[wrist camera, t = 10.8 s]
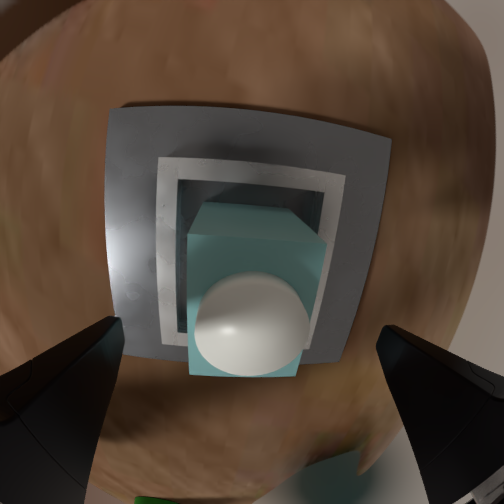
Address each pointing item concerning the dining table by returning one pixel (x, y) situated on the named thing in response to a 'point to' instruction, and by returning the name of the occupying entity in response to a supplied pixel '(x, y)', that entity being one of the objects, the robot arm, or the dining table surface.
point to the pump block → (250, 290)
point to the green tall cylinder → (152, 501)
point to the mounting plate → (236, 192)
